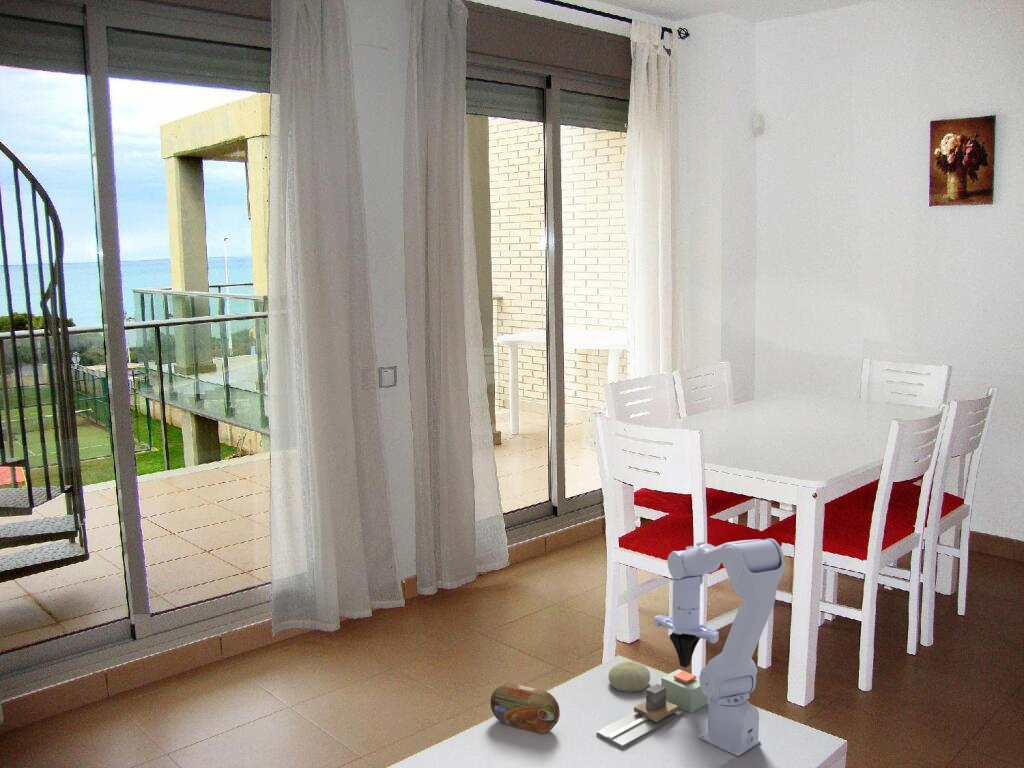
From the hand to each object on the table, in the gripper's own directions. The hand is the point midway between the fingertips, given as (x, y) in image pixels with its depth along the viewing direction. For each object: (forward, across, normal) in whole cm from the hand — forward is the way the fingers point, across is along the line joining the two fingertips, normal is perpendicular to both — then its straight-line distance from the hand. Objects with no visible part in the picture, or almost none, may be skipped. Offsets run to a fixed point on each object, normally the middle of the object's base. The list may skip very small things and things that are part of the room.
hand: (685, 665), depth 195 cm
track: (+8, -2, -14) cm, 17 cm away
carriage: (+7, -1, -10) cm, 12 cm away
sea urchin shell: (+9, -13, -1) cm, 16 cm away
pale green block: (+8, 0, 0) cm, 8 cm away
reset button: (+5, 0, 0) cm, 5 cm away
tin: (+9, -20, -29) cm, 37 cm away
